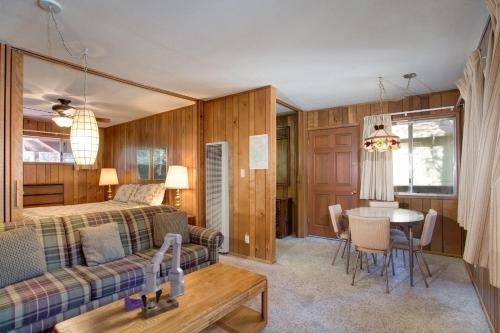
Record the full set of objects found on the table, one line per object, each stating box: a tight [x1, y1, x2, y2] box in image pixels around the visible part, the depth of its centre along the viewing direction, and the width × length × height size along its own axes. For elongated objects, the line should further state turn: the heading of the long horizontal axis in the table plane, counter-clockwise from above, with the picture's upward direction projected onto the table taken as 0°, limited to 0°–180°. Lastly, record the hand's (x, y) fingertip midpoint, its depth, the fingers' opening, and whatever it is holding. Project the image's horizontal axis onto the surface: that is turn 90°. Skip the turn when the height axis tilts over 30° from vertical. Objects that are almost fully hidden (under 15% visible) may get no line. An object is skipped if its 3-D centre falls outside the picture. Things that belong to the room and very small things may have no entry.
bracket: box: [123, 296, 148, 312], centre depth 169 cm, size 12×7×7 cm, turn 133°
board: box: [141, 296, 180, 320], centre depth 165 cm, size 20×10×3 cm, turn 132°
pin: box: [148, 298, 155, 309], centre depth 161 cm, size 3×3×8 cm
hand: (151, 304), depth 161 cm, fingers open, 7 cm apart
